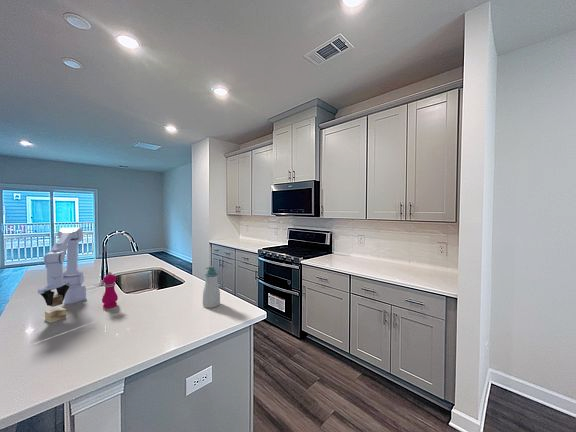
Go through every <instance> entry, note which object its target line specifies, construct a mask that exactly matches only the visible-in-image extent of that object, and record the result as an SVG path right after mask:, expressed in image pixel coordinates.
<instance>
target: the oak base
mask: <svg viewBox="0 0 576 432" xmlns="http://www.w3.org/2000/svg"><path fill="white" fill-rule="evenodd" d="M66 316H67V308H64V307H61V306H58V307H56V308H55V307H54V308H52V309H47V310H44V319H46V320H48V321H50V322H51V323H53V322H52V321H54V322H56V321H55V320H57V321H59V320H58V319H60V320H62V319H61V318H63V319H66V318H67V317H66ZM65 317H66V318H65ZM48 321H47V322H48ZM50 322H49V323H50Z"/></svg>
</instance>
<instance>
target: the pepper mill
mask: <svg viewBox="0 0 576 432" xmlns="http://www.w3.org/2000/svg"><path fill="white" fill-rule="evenodd" d="M102 281H103V283H104V284H103V285H104V287H105V288H104V289H105V290H104V294H103V295H102V298H101V302H102V307H103V309H112V308H115V307H117V303H118V302H117V301H118V299H119V298H118V297H119V296H118V294H117V293H116V289H115V286H116V281H117V277H116V275H115V274H113V273H112V272H111V271H108V272H107V275H105V276H104V277H103V279H102Z"/></svg>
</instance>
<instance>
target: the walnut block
mask: <svg viewBox="0 0 576 432" xmlns="http://www.w3.org/2000/svg"><path fill="white" fill-rule="evenodd" d="M63 304H64V303H63V295H60V294H58V293H57V294H54V296H53V304H52V305H51V306H50V308H51V307H52V308H53V307H54V308H55V307H57V306H61V305H63Z"/></svg>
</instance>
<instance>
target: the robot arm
mask: <svg viewBox="0 0 576 432" xmlns="http://www.w3.org/2000/svg"><path fill="white" fill-rule="evenodd" d="M57 237H58V241H57V242H55V243H54V244H53V246H52V248H51V249H50V251H49V252H47V253H45V255H44V257H43V262H44V265H45V269H46V285H45V286H43V287H41V288H38V289H37V294H38V295H41V297H42V298H43V299H44V301H45V304H46V306H49V307H51V305H52V304H53V296H54V295H55V293H56V292H57V294H60V295H63V304H65V305H70V304H74V303H77V302H81V301H85V300H87V287H86V285H85V284H84V280H85V276H84V273H83V271H81V270H80V269H78V264H79V263H78V261H79V260H78V259H79V258H78V256H79V255H78V253H79V242H82V241H83V229H82V228H81V227H59V228H58V230H57ZM66 253H67V255H66ZM65 258H66V271H64V269H63V268H64V266H63V265H64V262H65ZM63 271H64V272H63ZM53 290H56V292H55V291H53Z"/></svg>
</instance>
